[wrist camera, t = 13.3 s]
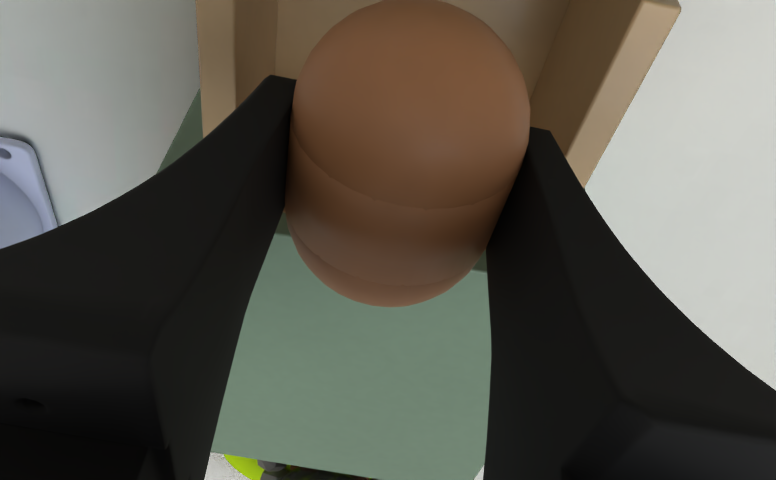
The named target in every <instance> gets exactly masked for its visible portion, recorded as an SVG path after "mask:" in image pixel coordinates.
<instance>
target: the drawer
mask: <svg viewBox="0 0 776 480" xmlns="http://www.w3.org/2000/svg"><path fill="white" fill-rule="evenodd" d="M380 1H383V0H196V18H197V37H198V55H199V73H200V91H201V110H202V128H203V138H204V137H206V136H207V135H208V134H209V133H210V132H211V131H212V130H214V129H215V128H216V127H217V126H218V125H219V124H220V123H221V122H222V121H223V120H224V119H226V118H227V117H228V116H229V115H230V114H231V113H232V112H233V111H234V110H235V109H236V108H237V107H238V106H239V105H240V104H241V103H242V102H243V101H244V100H245V99H246V98H247V97H248V96H249V95H250V94H251V93H252V92H253V91H254V90H255V89H256V87H257V86H258V85H259V84H260V83H261V82H262V81H263V80H264V78H266V77H268V76H269V75H276V76H281V77H286V78H291V79H296V80H297V79H298V77H299V74H300V72H301V70H302V68H303V66H304V64H305V62H306V60H307V58H308V56H309V54H310V52H311V51H312V49H313V48H314V47H315V46H316V44H317V43H318V42H319V41H320V40H321V38H322V37H323V36H324V35H325V34H326V33H327V32H328V31H329V30H330V29H331V28H332V27H333V26H334V25H336V24H337V23H338V22H340V21H341V20H343V19H344V18H345V17H347V16H348V15H350V14H351V13H353V12H355V11H357V10H358V9H361V8H364V7H366V6H369V5H372V4H375V3H378V2H380ZM438 1H442V2H446V3H449V4H451V5H454V6H456V7H459V8H461V9H463V10H465V11H467V12H469V13H471V14H473V15H474V16H476V17H478V18H479V19H481V20H482V21H483V22H485V23H486V24H487V25H488V26H489V27H491V29H492V30H493V31H494V32H495V33H496V34H497V35H498V36H499V37H500V38H501V40H502V41H503V42H504V43H505V44H506V45H507V47H508V48H509V49H510V51H511V53H512V54H513V56H514V58H515V60H516V62H517V64H518V66H519V68H520V70H521V72H522V74H523V76H524V80H525V84H526V88H527V93H528V98H529V103H530V108H531V110H530V127H535V128H540V129H545V130H550V132H551V133H552V135H553V137H554V138H555V140H556V142H557V144H558V145H559V147H560V149H561V151H562V153H563V154H564V156H565V158H566V160H567V161H568V163H569V165H570V167H571V168H572V170H573V172H574V173H575V175H576V177H577V179H578V180H579V182H580V184H581V185H582V187H583V188H584V187H585V185H586V184H587V182H588V180H589V178H590V176H591V174H592V173H593V171H594V169H595V167H596V165H597V164H598V162H599V160H600V158H601V156H602V154H603V153H604V151H605V149H606V147H607V145H608V143H609V142H610V140H611V138H612V136H613V134H614V132H615V131H616V129H617V127H618V125H619V123H620V122H621V120H622V118H623V116H624V114H625V112H626V111H627V109H628V107H629V105H630V103H631V101H632V100H633V98H634V96H635V94H636V92H637V90H638V89H639V87H640V85H641V83H642V81H643V80H644V78H645V76H646V74H647V72H648V70H649V69H650V67H651V65H652V63H653V61H654V59H655V58H656V56H657V54H658V52H659V50H660V49H661V47H662V45H663V43H664V41H665V39H666V38H667V36H668V34H669V32H670V30H671V28H672V27H673V25H674V23H675V21H676V19H677V17H678V16H679V14H680V12H681V6H680V4H679V2H678V0H438ZM283 212H284V213H286V212H285V207H284V210H283ZM485 250H486V248H485Z"/></svg>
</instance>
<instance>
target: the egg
mask: <svg viewBox="0 0 776 480" xmlns="http://www.w3.org/2000/svg"><path fill="white" fill-rule="evenodd" d="M530 110H531V108H530V103H529V98H528V93H527V88H526V84H525V80H524V76H523V74H522V72H521V70H520V68H519V66H518V64H517V62H516V60H515V58H514V56H513V54H512V53H511V51H510V49H509V48H508V47H507V45H506V44H505V43H504V42H503V41H502V40H501V38H500V37H499V36H498V35H497V34H496V33H495V32H494V31H493V30H492V29H491V27H489V26H488V25H487V24H486V23H485V22H483V21H482V20H481V19H479V18H478V17H476V16H474V15H473V14H471V13H469V12H467V11H465V10H463V9H461V8H459V7H456V6H454V5H451V4H449V3H446V2H442V1H438V0H383V1H380V2H378V3H375V4H372V5H369V6H366V7H364V8H361V9H358V10H357V11H355V12H353V13H351V14H350V15H348V16H347V17H345V18H344V19H343V20H341V21H340V22H338V23H337V24H336V25H334V26H333V27H332V28H331V29H330V30H329V31H328V32H327V33H326V34H325V35H324V36H323V37H322V38H321V40H320V41H319V42H318V43H317V44H316V46H315V47H314V48H313V49H312V51H311V52H310V54H309V56H308V58H307V60H306V62H305V64H304V66H303V68H302V70H301V72H300V74H299V77H298V79H297V81H296V86H295V91H294V97H293V103H292V109H291V114H290V130H289V144H288V158H287V172H286V186H285V212H286V219H287V227H288V229H289V232H290V234H291V237H292V240H293V242H294V245H295V247H296V250H297V252H298V254H299V255H300V257H301V258H302V260H303V261H304V263H305V264H306V265H307V267H308V268H309V269H310V270H311V271H312V272H313V274H314V275H315V276H316V277H317V278H319V279H320V280H321V281H322V282H323V283H324V284H325V285H326V286H328V287H329V288H331V289H332V290H334V291H335V292H337V293H338V294H340V295H342V296H344V297H347V298H349V299H351V300H353V301H356V302H360V303H364V304H367V305H371V306H380V307H404V306H410V305H414V304H418V303H422V302H424V301H427V300H430V299H432V298H434V297H436V296H438V295H440V294H443V293H445V292H446V291H448V290H449V289H450V288H452V287H453V286H454V285H456V284H457V283H458V282H459V281H460V280H462V279H463V278H464V277H465V276H466V275H467V274H468V273H469V272H470V271H471V269H472V268H473V267H474V266H475V264H476V263H477V262H478V260H479V258H480V257H481V255H482V254H483V252H484V250H485V248H486V246H487V244H488V242H489V240H490V238H491V235H492V233H493V231H494V228H495V226H496V224H497V221H498V219H499V217H500V214H501V212H502V210H503V208H504V205H505V203H506V201H507V198H508V196H509V194H510V191H511V189H512V187H513V184H514V182H515V180H516V178H517V175H518V173H519V171H520V168H521V166H522V163H523V159H524V156H525V153H526V149H527V146H528V143H529V131H530Z"/></svg>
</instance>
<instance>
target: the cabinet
mask: <svg viewBox="0 0 776 480" xmlns="http://www.w3.org/2000/svg"><path fill="white" fill-rule="evenodd" d="M202 139H203V128H202V110H201V91H200V89H199V91H198V93H197V95H196V97H195V98H194V100H193V102H192V104H191V106H190V108H189V110H188V112H187V114H186V116H185V118H184V120H183V122H182V124H181V126H180V128H179V130H178V132H177V134H176V136H175V138H174V140H173V142H172V144H171V146H170V148H169V150H168V152H167V154H166V156H165V158H164V160H163V162H162V164H161V166H160V168H159V170H158V172H157V173H159V172H160V171H162V170H163V169H164V168H166V167H167V166H169V165H170V164H171V163H173V162H174V161H176V160H177V159H178V158H180V157H181V156H182V155H183V154H185V153H186V152H187V151H188V150H190V149H191V148H192V147H193V146H195V145H196V144H197V143H198V142H199V141H201V140H202ZM584 190H585V187H584ZM490 374H491V328H490V312H489V296H488V280H487V263H486V250H484V252H483V254H482V255H481V257H480V258H479V260H478V262H477V263H476V264H475V266H474V267H473V268H472V269H471V271H470V272H469V273H468V274H467V275H466V276H465V277H464V278H463V279H462V280H460V281H459V282H458V283H457V284H456V285H454V286H453V287H452V288H450V289H449V290H448V291H446V292H445V293H443V294H440V295H438V296H436V297H434V298H432V299H430V300H427V301H424V302H422V303H418V304H414V305H410V306H404V307H380V306H371V305H367V304H364V303H360V302H356V301H353V300H351V299H349V298H347V297H344V296H342V295H340V294H338V293H337V292H335V291H334V290H332V289H331V288H329V287H328V286H326V285H325V284H324V283H323V282H322V281H321V280H320V279H319V278H317V277H316V276H315V275H314V274H313V272H312V271H311V270H310V269H309V268H308V267H307V265H306V264H305V263H304V261H303V260H302V258H301V257H300V255H299V254H298V252H297V250H296V247H295V245H294V242H293V240H292V237H291V234H290V232H289V229H288V227H287V219H286V213H284V212H283V213H282V215H281V218H280V221H279V223H278V226H277V229H276V231H275V234H274V237H273V239H272V242H271V244H270V247H269V250H268V252H267V255H266V258H265V260H264V263H263V265H262V268H261V271H260V273H259V276H258V279H257V281H256V284H255V286H254V289H253V292H252V294H251V297H250V301H249V304H248V307H247V310H246V313H245V316H244V320H243V324H242V328H241V332H240V335H239V339H238V343H237V347H236V351H235V354H234V358H233V362H232V366H231V370H230V374H229V378H228V382H227V386H226V390H225V394H224V398H223V402H222V406H221V410H220V414H219V419H218V423H217V427H216V431H215V435H214V439H213V443H212V448H211V452H214V453H220V454H227V455H233V456H239V457H245V458H251V459H257V460H263V461H270V462H276V463H282V464H288V465H294V466H300V467H307V468H313V469H319V470H325V471H331V472H337V473H343V474H350V475H356V476H362V477H368V478H374V479H380V480H474V478H475V477H476V475H477V474H478V473H479V471H480V470H481V468H482V467H483V465H484V464H485V453H486V441H487V426H488V411H489V395H490Z"/></svg>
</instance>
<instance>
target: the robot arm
mask: <svg viewBox="0 0 776 480" xmlns="http://www.w3.org/2000/svg"><path fill="white" fill-rule="evenodd" d="M296 81H297V80H296V79H291V78H286V77H281V76H276V75H269V76H268V77H266V78H264V80H263V81H262V82H261V83H260V84H259V85H258V86H257V87H256V89H255V90H254V91H253V92H252V93H251V94H250V95H249V96H248V97H247V98H246V99H245V100H244V101H243V102H242V103H241V104H240V105H239V106H238V107H237V108H236V109H235V110H234V111H233V112H232V113H231V114H230V115H229V116H228V117H227V118H226V119H224V120H223V121H222V122H221V123H220V124H219V125H218V126H217V127H216V128H215V129H214V130H212V131H211V132H210V133H209V134H208V135H207V136H206V137H204V138H203V139H202V140H201V141H199V142H198V143H197V144H196V145H195V146H193V147H192V148H191V149H190V150H188V151H187V152H186V153H185V154H183V155H182V156H181V157H180V158H178V159H177V160H176V161H174V162H173V163H171V164H170V165H169V166H167V167H166V168H164V169H163V170H162V171H160V172H159V173H157V174H156V175H154V176H153V177H151V178H150V179H148V180H147V181H145V182H143V183H142V184H140V185H139V186H137V187H135V188H134V189H132V190H130V191H129V192H127V193H125V194H123V195H122V196H120V197H118V198H116V199H115V200H113V201H111V202H109V203H107V204H105V205H103V206H102V207H100V208H98V209H96V210H94V211H92V212H90V213H88V214H86V215H84V216H81V217H79V218H77V219H75V220H73V221H71V222H68V223H66V224H64V225H61V226H59V227H58V225H57V222H56V218H55V215H54V212H53V209H52V205H51V202H50V199H49V196H48V193H47V189H46V186H45V183H44V180H43V176H42V173H41V170H40V167H39V163H38V160H37V157H36V154H35V152H34V150H33V148H32V147H31V146H30V145H29V144H27V143H25V142H23V141H20V140H15V139H9V138H4V137H0V480H204V478H205V474H206V469H207V465H208V461H209V456H210V452H211V448H212V443H213V439H214V435H215V431H216V427H217V423H218V419H219V414H220V410H221V406H222V402H223V398H224V394H225V390H226V386H227V382H228V378H229V374H230V370H231V366H232V362H233V358H234V354H235V351H236V347H237V343H238V339H239V335H240V332H241V328H242V324H243V320H244V316H245V313H246V310H247V307H248V304H249V301H250V297H251V294H252V292H253V289H254V286H255V284H256V281H257V279H258V276H259V273H260V271H261V268H262V265H263V263H264V260H265V258H266V255H267V252H268V250H269V247H270V244H271V242H272V239H273V237H274V234H275V231H276V229H277V226H278V223H279V221H280V218H281V215H282V213H283V210H284V207H285V186H286V172H287V158H288V144H289V130H290V114H291V109H292V103H293V97H294V91H295V86H296ZM6 150H7V151H6ZM486 263H487V280H488V296H489V312H490V328H491V374H490V395H489V411H488V426H487V441H486V453H485V464H484V476H483V480H776V391H775V390H774V389H773V388H771V387H770V386H769V385H767V384H766V383H765V382H763V381H762V380H761V379H759V378H758V377H757V376H755V375H754V374H752V373H751V372H750V371H748V370H747V369H746V368H745V367H743V366H742V365H741V364H740V363H738V362H737V361H736V360H735V359H734V358H732V357H731V356H730V355H729V354H728V353H727V352H725V351H724V350H723V349H722V348H721V347H719V346H718V345H717V344H716V343H715V342H713V341H712V340H711V339H710V338H709V337H708V336H707V335H706V334H705V333H703V332H702V331H701V330H700V329H699V328H698V327H697V326H696V325H695V324H694V323H692V322H691V321H690V320H689V319H688V318H687V317H686V316H685V315H684V314H683V313H682V312H681V311H680V310H679V309H678V308H677V307H676V306H675V305H674V304H673V303H672V302H671V301H670V300H669V299H668V298H667V297H666V296H665V295H664V294H663V293H662V291H661V290H660V289H659V288H658V287H657V286H656V285H655V284H654V283H653V282H652V281H651V279H650V278H649V277H648V276H647V275H646V274H645V272H644V271H643V270H642V269H641V268H640V267H639V265H638V264H637V263H636V262H635V261H634V260H633V258H632V257H631V256H630V255H629V253H628V252H627V251H626V250H625V248H624V247H623V246H622V244H621V243H620V242H619V240H618V239H617V237H616V236H615V235H614V233H613V232H612V231H611V229H610V228H609V226H608V225H607V224H606V222H605V221H604V219H603V218H602V216H601V215H600V213H599V212H598V210H597V209H596V207H595V206H594V204H593V203H592V201H591V200H590V198H589V196H588V195H587V193H586V192H585V190H584V188H583V187H582V185H581V184H580V182H579V180H578V179H577V177H576V175H575V173H574V172H573V170H572V168H571V167H570V165H569V163H568V161H567V160H566V158H565V156H564V154H563V153H562V151H561V149H560V147H559V145H558V144H557V142H556V140H555V138H554V137H553V135H552V133H551V132H550V130H545V129H540V128H535V127H530V131H529V143H528V146H527V149H526V153H525V156H524V159H523V163H522V166H521V168H520V171H519V173H518V175H517V178H516V180H515V182H514V184H513V187H512V189H511V191H510V194H509V196H508V198H507V201H506V203H505V205H504V208H503V210H502V212H501V214H500V217H499V219H498V221H497V224H496V226H495V228H494V231H493V233H492V235H491V238H490V240H489V242H488V244H487V246H486Z"/></svg>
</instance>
